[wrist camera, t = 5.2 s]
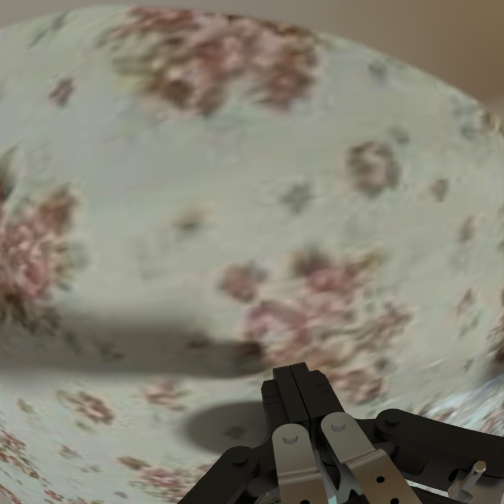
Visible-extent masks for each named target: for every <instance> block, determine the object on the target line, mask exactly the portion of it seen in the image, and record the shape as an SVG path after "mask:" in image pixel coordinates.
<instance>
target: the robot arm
mask: <svg viewBox="0 0 504 504" xmlns="http://www.w3.org/2000/svg"><path fill="white" fill-rule="evenodd" d="M261 393H262V399H263V406H264V412H265V416H266V420H267V424H268V428H269V432H270V436H269V438H268V440H267V441H266V442H265V443H263V444H262V445H260V446H258V447H256V448H253V449H251V448H249V447H245V446H237V447H233V448H230V449H228V450H227V451H226V452H225V453H224V454H223V455H222V456H221V457H220V458H219V459H218V461H217V462H216V463H215V464H214V465H213V466H212V467H211V468H210V470H209V471H208V472H207V473H206V474H205V475H204V476H203V477H202V478H201V479H200V480H199V482H198V483H197V484H196V485H195V486H194V487H193V488H192V489H191V490H190V491H189V492H188V493H187V494H186V495H185V496H184V497H183V498H182V499H181V500H180V501H179V502H178V503H177V504H259V502H260V501H261V499H262V498H263V497H264V495H265V493H267V492H269V491H271V490H273V489H275V488H277V487H279V490H280V497H281V504H329V502H328V498H327V494H326V491H325V487H324V483H323V479H322V475H321V473H320V471H318V469H317V466H316V462H315V458H314V454H313V451H315V450H318V453H319V455H320V459H319V462H320V465H321V467H322V469H323V471H324V473H325V475H326V477H327V479H328V481H329V483H330V485H331V487H332V489H333V491H334V493H335V496H336V501H337V504H500V503H501V500H502V497H503V494H504V437H501V436H496V435H491V434H487V433H482V432H478V431H474V430H469V429H465V428H461V427H457V426H454V425H450V424H446V423H442V422H439V421H435V420H432V419H428V418H425V417H422V416H418V415H415V414H412V413H408V412H405V411H402V410H399V409H387V410H384V411H382V412H380V413H379V414H378V416H377V417H376V419H355V418H353V417H352V416H351V415H349V414H347V413H345V411H344V409H343V408H342V406H341V404H340V402H339V400H338V398H337V396H336V394H335V393H334V391H333V389H332V387H331V385H330V384H329V381H328V379H327V378H326V376H325V375H324V374H323V373H321V372H320V371H319V370H314V371H310V372H309V370H308V368H307V366H306V363H305V362H302V363H297V364H293V365H289V366H283V367H278V368H273V380H268V381H264V382H263V385H262V388H261ZM405 479H407V480H410V481H413V482H416V483H419V484H422V485H425V486H428V487H432V488H435V489H438V490H442V491H445V492H448V496H449V498H448V497H445V496H441V495H438V494H435V493H432V492H429V491H426V490H424V489H421V488H418V487H414V486H409V484H408V483H407V482H406V480H405Z"/></svg>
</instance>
